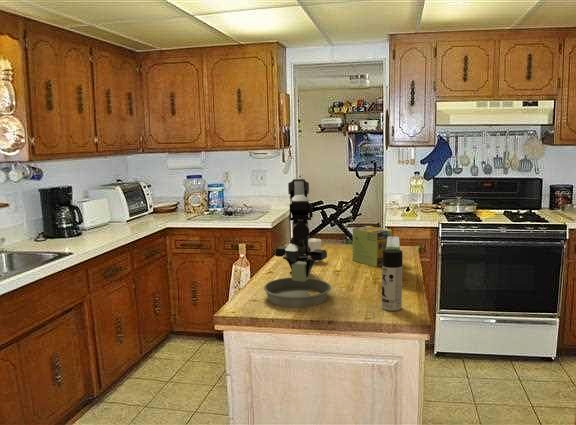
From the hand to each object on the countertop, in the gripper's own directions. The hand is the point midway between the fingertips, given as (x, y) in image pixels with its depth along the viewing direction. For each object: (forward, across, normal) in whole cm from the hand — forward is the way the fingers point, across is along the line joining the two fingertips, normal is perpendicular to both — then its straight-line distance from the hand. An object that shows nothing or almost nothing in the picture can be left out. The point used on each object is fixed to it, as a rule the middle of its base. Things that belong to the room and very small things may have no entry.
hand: (301, 275), depth 187 cm
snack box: (+8, +24, +38) cm, 46 cm away
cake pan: (+8, 0, -2) cm, 8 cm away
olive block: (+1, 0, 0) cm, 1 cm away
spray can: (+8, +34, 0) cm, 35 cm away
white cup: (+8, -17, +49) cm, 52 cm away
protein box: (+8, +9, +58) cm, 59 cm away
